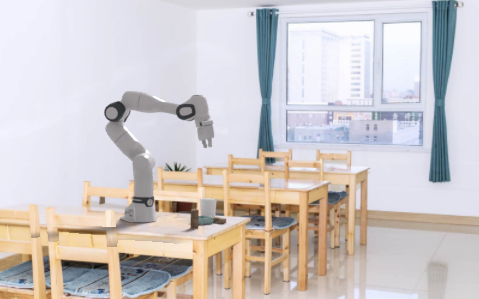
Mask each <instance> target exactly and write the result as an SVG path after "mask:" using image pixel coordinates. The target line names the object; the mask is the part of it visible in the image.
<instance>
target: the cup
mask: <svg viewBox="0 0 479 299" xmlns="http://www.w3.org/2000/svg"><path fill="white" fill-rule="evenodd" d="M212 223H213V224H214V222H213V217H209V216H203V215H202V216H201V215H199V217H198V226H205V225H212Z"/></svg>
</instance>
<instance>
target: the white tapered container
mask: <svg viewBox="0 0 479 299" xmlns="http://www.w3.org/2000/svg"><path fill="white" fill-rule="evenodd" d="M199 199H200V200H199V202H200V203H199V204H200V206H199V207H200V208H199V209H200V216H202V215H203V216H209V217H216V211H217V198H215V197H201V198H199Z"/></svg>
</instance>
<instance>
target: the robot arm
mask: <svg viewBox="0 0 479 299" xmlns="http://www.w3.org/2000/svg"><path fill="white" fill-rule="evenodd" d="M209 110H210V109H209V104H208V99H207V98H206V96H204V95H202V94H194V95H191V96H190V97H189V99H188V100H186V101H184V102H182V103H181V104H177V103H173V102H169V101H166V100H163V99H161V98H159V97H157V96H155V95H152V94H150V93H146V92H142V91H137V90H127V91H125V92H123V95H122V96H121V100H117V101H114V102H111V103H109V104H108V105H107V106H105V108H104V110H103V111H104V112H103V115H104V116H105V119H106V120H108V121H109V122H107V124H106V125H105V127H104V129H105V132H106V133H107V134H106V135H107V136H108V137H109V139H110V140H111V141H112V142H113V143H114V145H115V146H116V147H117V148H118V150H120V152H122V154H123V155H124V156H125V157H127V158H128V159H129V160H130V161H131V162H132V173H133V174H132V175H133V184H134V185H133V187H134V188H133V196H131V203H130V204H129V205H128V206H126V208H124V214H123V215H122V216H120V218H119V219H120V220H123V221H126V222H128V223H151V222H156V221H157V220H158V217H157V215H156V214H157V213H156V205H155V204H154V203H155V194H154V193H155V192H154V190H155V189H154V188H155V187H154V185H155V183H154V176H153V175H154V174H153V169H154V168H155V166H156V158H155V156H154V155H153V154H152V153H151V152H150V151H149V149H147V148H146V147H145V146H144V145H143V144H142V143H141V142H140V141H139V140H138V139H137V138H136V137H135V136H134V135H133V134H132V132H131V131H130V130H129V128H127V126H126V125H125V123H126V122H127V120H128V118H129V117H130V115H131V111H136V112H140V113H146V114H154V113H164V114H165V113H166V114H170V115H175V116H176V117H177V119H180V120H182V121H186V122H192V121H194V124H195V128H197V129H196V134H197V140H198V141H201V144H202V146H203V148H204V149H207V148H212V147H213V139H214V138H215V129H214V121H213V120H212V119H211V115H210V112H209ZM206 140H207V141H206Z"/></svg>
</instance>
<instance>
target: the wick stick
mask: <svg viewBox="0 0 479 299" xmlns="http://www.w3.org/2000/svg"><path fill="white" fill-rule="evenodd" d="M199 216H200V215H199V209H190V230H191V229H192V230H196V229H199V225H198V217H199Z"/></svg>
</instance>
